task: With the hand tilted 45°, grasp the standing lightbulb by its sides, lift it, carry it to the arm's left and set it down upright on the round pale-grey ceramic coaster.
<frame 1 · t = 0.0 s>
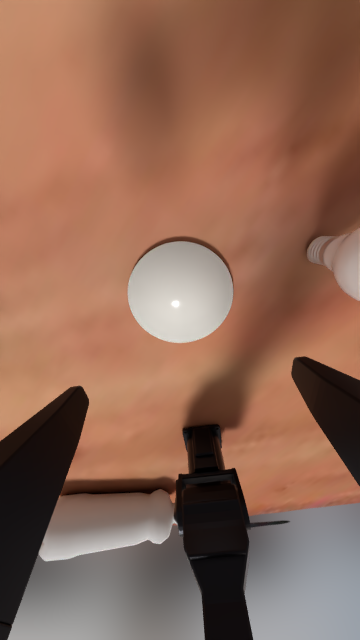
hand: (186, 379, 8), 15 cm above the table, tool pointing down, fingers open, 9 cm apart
lightbulb: (314, 249, 20), on the table
bottle: (127, 492, 42), on the table
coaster: (180, 296, 22), on the table
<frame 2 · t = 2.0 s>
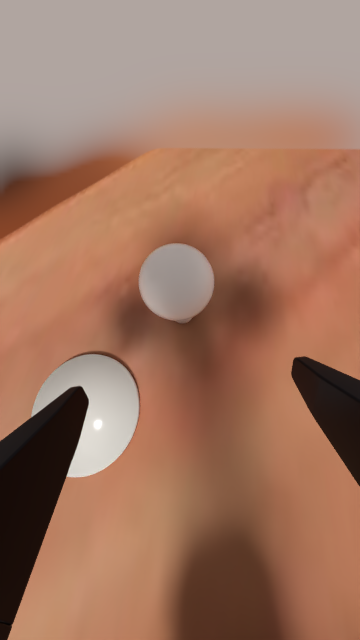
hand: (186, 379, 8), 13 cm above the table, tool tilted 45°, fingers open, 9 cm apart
lightbulb: (183, 315, 23), on the table
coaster: (87, 409, 21), on the table
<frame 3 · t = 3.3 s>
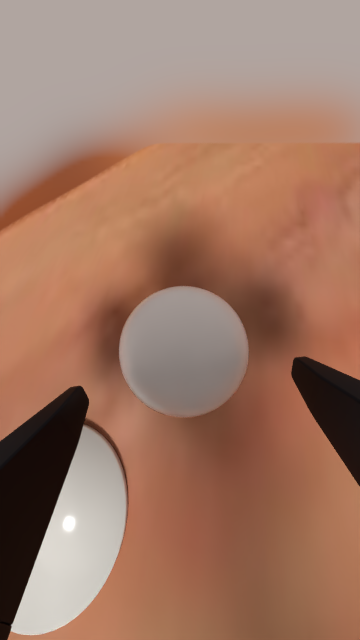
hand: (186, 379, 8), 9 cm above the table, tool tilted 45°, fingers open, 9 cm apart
lightbulb: (189, 363, 17), on the table
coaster: (52, 508, 14), on the table
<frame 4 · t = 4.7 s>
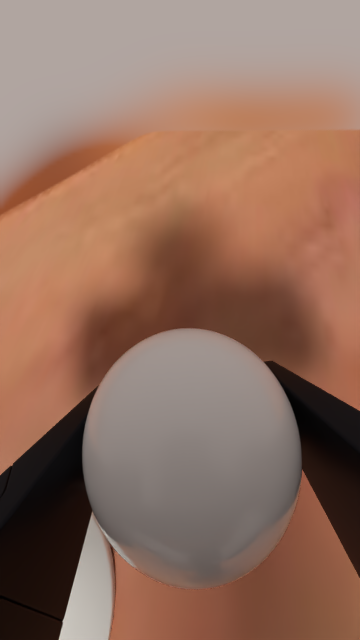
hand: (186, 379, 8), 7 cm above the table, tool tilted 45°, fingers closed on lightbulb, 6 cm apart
lightbulb: (193, 399, 14), on the table, touching gripper
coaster: (17, 596, 11), on the table
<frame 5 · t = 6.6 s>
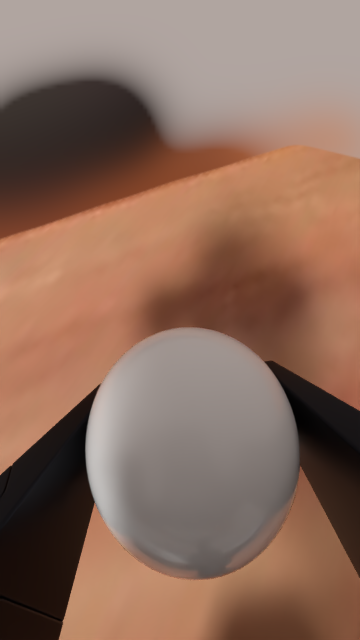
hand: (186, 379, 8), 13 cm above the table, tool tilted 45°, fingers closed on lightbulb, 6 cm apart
lightbulb: (193, 398, 14), point 6 cm above the table, touching gripper
when the fingers open (8 cm above the table, at t = 8.6 s): lightbulb stays where it is, resting on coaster.
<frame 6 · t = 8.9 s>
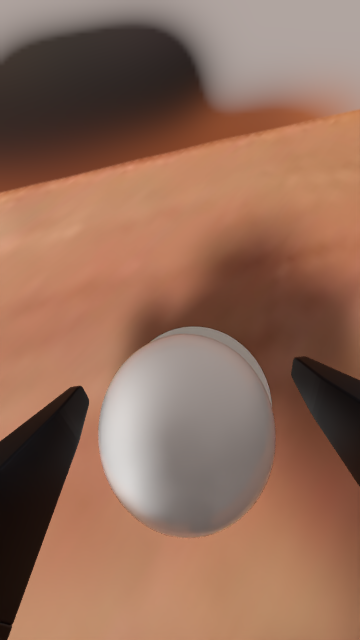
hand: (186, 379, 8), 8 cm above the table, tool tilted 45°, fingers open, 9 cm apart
lightbulb: (192, 399, 15), resting on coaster
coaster: (193, 397, 15), on the table
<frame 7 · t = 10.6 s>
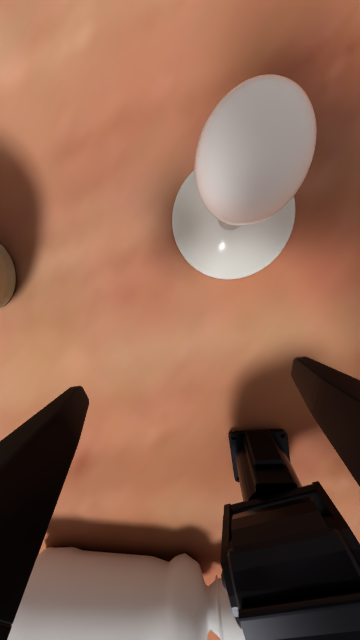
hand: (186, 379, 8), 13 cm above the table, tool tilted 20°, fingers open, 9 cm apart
lightbulb: (230, 219, 19), resting on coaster
bottle: (137, 557, 28), on the table
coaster: (230, 220, 19), on the table
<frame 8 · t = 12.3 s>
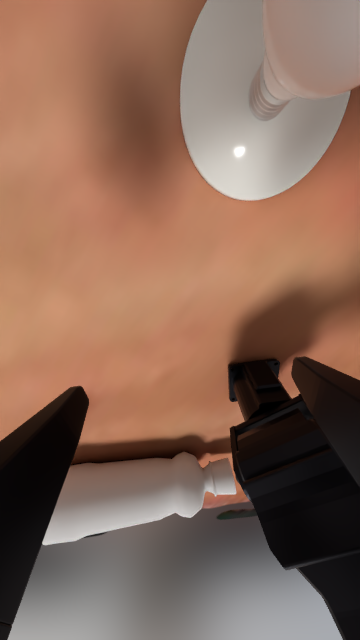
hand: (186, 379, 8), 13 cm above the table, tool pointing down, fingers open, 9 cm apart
lightbulb: (262, 101, 13), resting on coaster
bottle: (144, 460, 34), on the table
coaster: (261, 104, 13), on the table
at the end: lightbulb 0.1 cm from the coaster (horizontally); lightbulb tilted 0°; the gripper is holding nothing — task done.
